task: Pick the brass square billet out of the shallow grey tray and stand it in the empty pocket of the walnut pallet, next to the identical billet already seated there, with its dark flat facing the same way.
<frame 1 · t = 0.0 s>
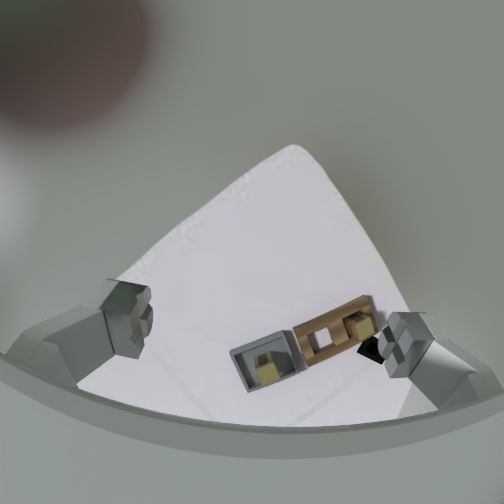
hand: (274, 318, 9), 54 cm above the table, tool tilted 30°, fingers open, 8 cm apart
billet: (264, 361, 62), resting on shallow grey tray
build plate: (374, 348, 64), on the table
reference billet: (351, 321, 64), resting in pallet
shallow grey tray: (264, 360, 62), on the table
pallet: (335, 329, 63), on the table
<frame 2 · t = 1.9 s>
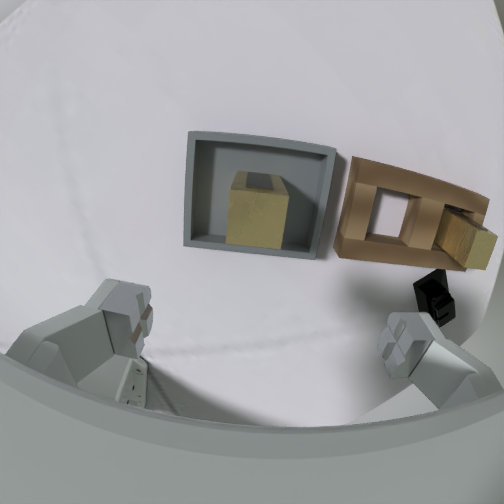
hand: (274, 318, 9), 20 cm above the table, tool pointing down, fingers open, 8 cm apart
billet: (256, 192, 27), resting on shallow grey tray
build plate: (431, 294, 33), on the table
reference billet: (442, 222, 28), resting in pallet
shallow grey tray: (256, 191, 27), on the table
pallet: (416, 217, 28), on the table
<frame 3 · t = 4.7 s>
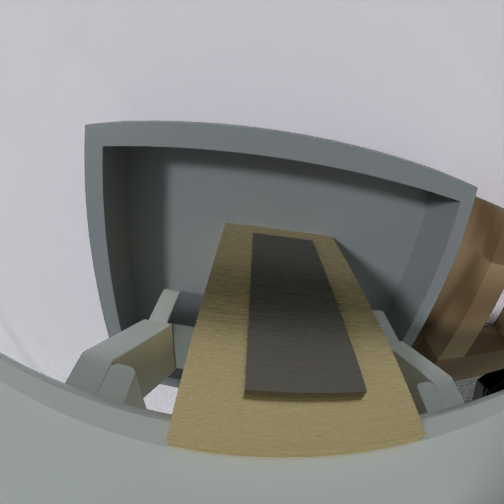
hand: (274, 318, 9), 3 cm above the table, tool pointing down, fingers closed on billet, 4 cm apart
billet: (271, 276, 11), point 1 cm above the table, touching gripper, shallow grey tray
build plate: (489, 381, 18), on the table
shallow grey tray: (271, 269, 11), on the table
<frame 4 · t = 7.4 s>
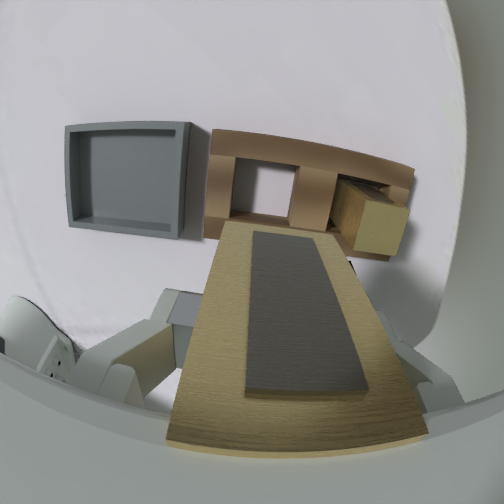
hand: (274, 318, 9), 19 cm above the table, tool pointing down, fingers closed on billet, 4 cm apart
billet: (272, 274, 11), point 17 cm above the table, touching gripper
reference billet: (351, 200, 27), resting in pallet
shallow grey tray: (126, 174, 26), on the table
pallet: (309, 193, 26), on the table
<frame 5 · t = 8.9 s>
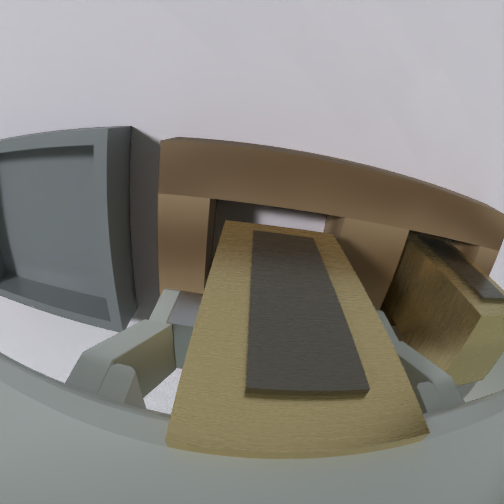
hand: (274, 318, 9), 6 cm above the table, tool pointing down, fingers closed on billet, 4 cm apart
billet: (272, 274, 11), point 4 cm above the table, touching gripper
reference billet: (411, 263, 15), resting in pallet
shallow grey tray: (45, 218, 14), on the table
pallet: (347, 255, 15), on the table
when the fingers open (4 cm above the table, at t = 10.2 s): billet drops 1 cm, resting in pallet.
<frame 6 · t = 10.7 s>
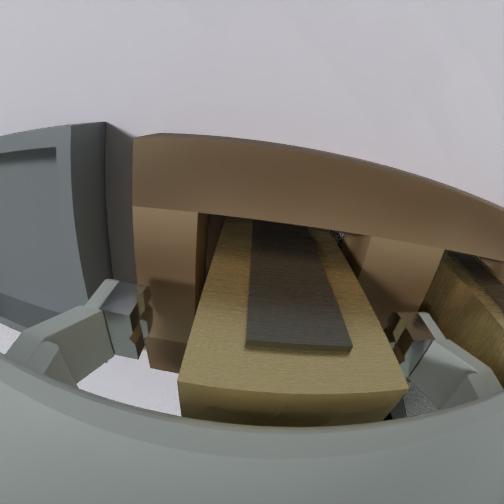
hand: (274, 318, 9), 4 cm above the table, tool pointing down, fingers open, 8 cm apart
billet: (270, 262, 12), resting in pallet
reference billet: (436, 282, 12), resting in pallet
shallow grey tray: (20, 230, 11), on the table
pallet: (367, 275, 12), on the table
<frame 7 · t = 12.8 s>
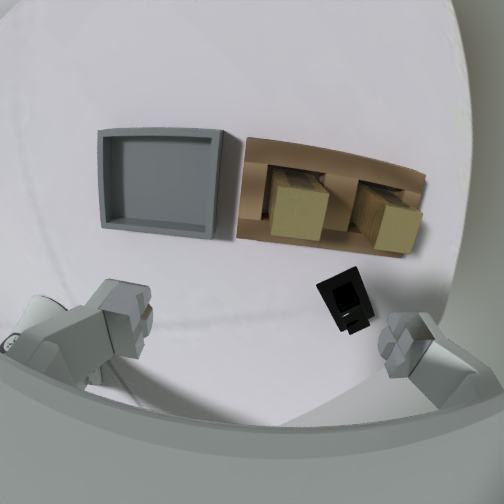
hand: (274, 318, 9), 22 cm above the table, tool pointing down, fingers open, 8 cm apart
billet: (289, 189, 29), resting in pallet
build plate: (347, 298, 35), on the table
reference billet: (368, 203, 29), resting in pallet
shallow grey tray: (159, 177, 28), on the table
pallet: (331, 196, 29), on the table
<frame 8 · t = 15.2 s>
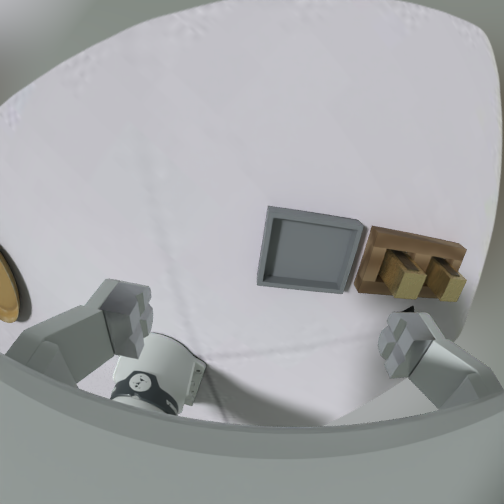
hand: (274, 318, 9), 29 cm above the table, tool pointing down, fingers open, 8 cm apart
billet: (389, 259, 40), resting in pallet
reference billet: (430, 265, 41), resting in pallet
shallow grey tray: (306, 248, 40), on the table
pallet: (411, 262, 40), on the table
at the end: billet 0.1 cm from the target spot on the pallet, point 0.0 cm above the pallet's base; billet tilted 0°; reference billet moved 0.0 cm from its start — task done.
